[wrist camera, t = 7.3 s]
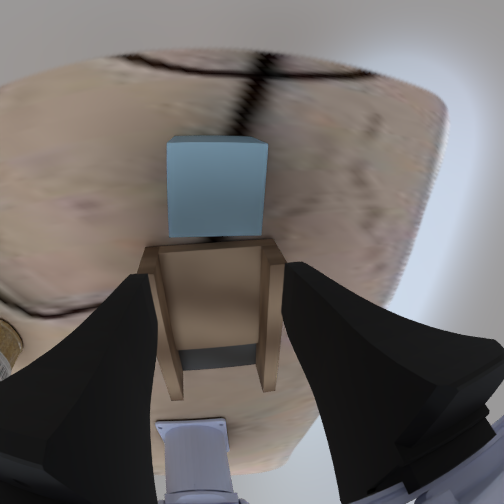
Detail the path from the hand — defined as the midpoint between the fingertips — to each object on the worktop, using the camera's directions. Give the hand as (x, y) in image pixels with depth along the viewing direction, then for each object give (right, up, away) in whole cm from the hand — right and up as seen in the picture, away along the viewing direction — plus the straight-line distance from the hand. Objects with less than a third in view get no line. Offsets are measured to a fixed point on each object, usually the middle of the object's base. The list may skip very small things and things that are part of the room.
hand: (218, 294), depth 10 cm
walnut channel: (-2, -3, +12) cm, 13 cm away
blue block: (-1, +3, +6) cm, 7 cm away
